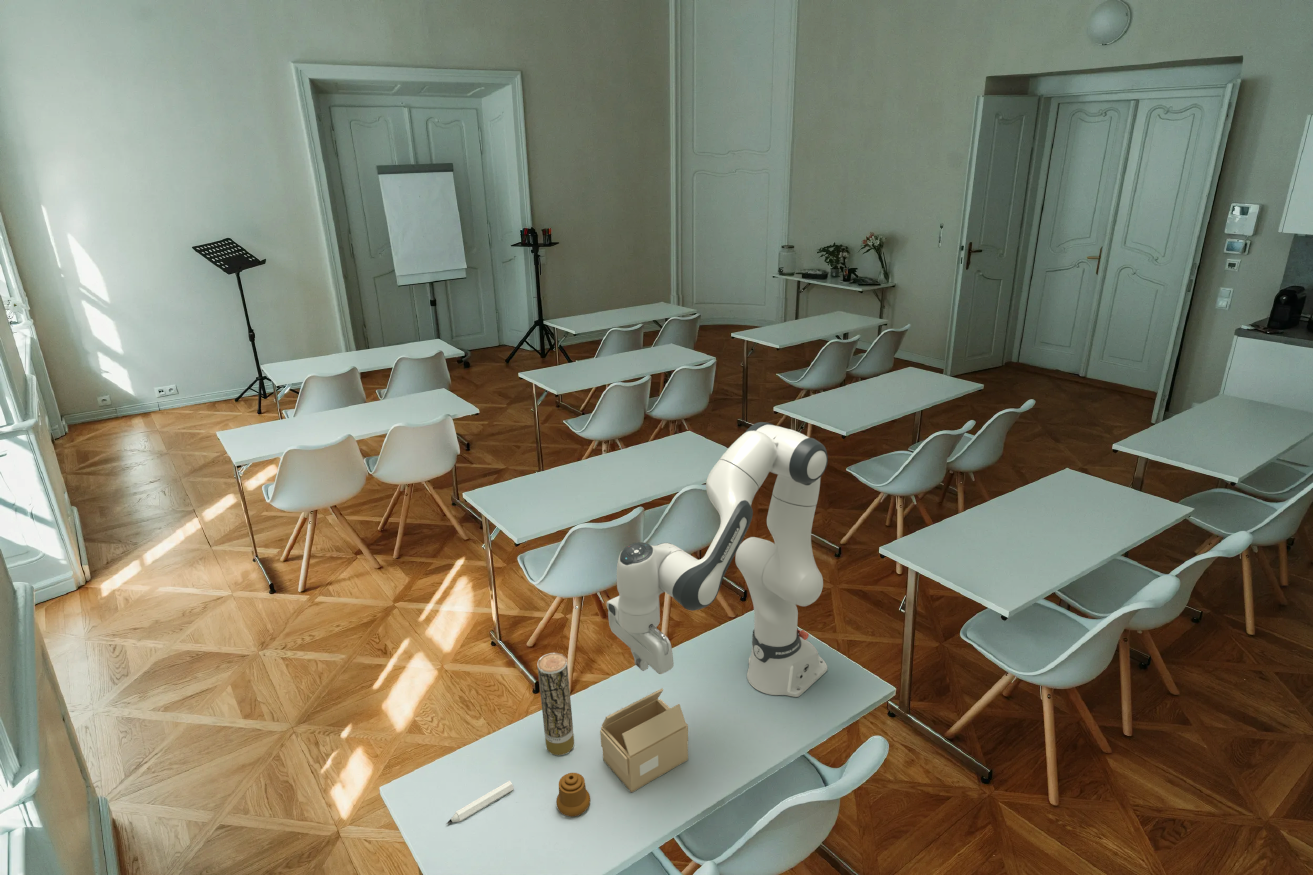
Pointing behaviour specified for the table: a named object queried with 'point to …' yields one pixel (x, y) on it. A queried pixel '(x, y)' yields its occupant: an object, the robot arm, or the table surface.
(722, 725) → the table surface
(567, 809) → the ornamental finial
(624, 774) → the carton
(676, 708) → the flap near
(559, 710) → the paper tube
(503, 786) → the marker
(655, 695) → the flap far
